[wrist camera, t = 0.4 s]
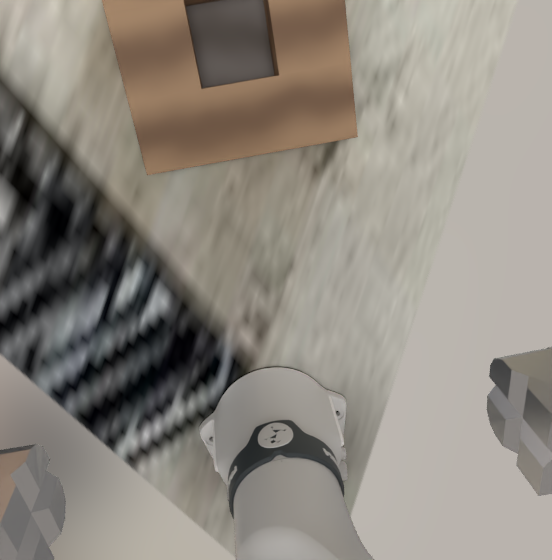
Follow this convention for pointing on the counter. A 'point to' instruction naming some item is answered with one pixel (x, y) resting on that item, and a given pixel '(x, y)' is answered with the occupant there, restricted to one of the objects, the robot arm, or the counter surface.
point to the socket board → (232, 77)
